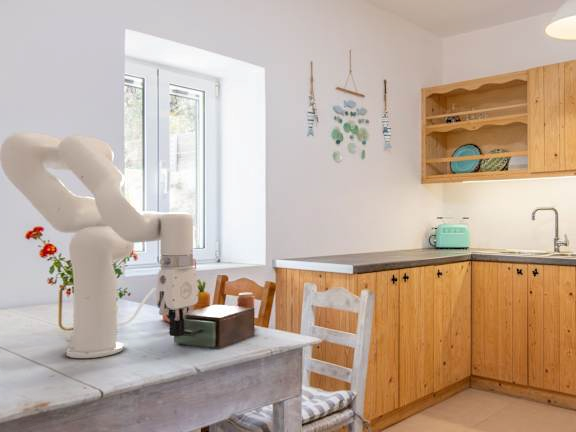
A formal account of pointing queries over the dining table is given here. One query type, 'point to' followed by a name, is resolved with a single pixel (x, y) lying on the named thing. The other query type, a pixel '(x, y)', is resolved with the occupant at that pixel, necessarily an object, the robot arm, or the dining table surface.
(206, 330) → the drawer
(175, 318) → the robot arm
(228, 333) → the cabinet
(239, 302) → the spice jar
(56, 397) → the dining table surface
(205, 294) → the carrot
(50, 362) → the dining table surface
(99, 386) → the dining table surface
